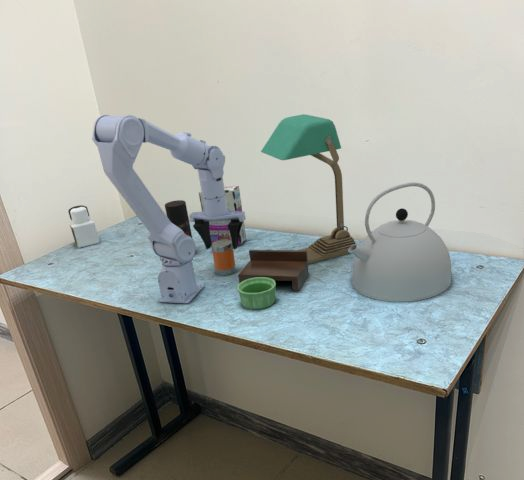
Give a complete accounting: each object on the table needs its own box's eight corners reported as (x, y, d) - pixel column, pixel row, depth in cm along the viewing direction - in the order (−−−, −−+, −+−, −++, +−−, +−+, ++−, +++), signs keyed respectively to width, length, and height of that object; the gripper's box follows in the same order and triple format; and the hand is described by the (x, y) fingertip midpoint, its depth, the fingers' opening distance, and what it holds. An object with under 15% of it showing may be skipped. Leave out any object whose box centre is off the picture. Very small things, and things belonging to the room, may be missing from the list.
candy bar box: (247, 239, 165) (239, 185, 156) (241, 245, 161) (234, 190, 152) (213, 239, 168) (204, 186, 160) (207, 245, 164) (197, 191, 156)
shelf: (298, 291, 129) (296, 266, 126) (240, 289, 134) (236, 265, 131) (308, 274, 137) (306, 250, 134) (253, 273, 142) (250, 249, 139)
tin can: (231, 276, 142) (227, 247, 138) (212, 275, 144) (207, 246, 140) (239, 267, 146) (234, 239, 142) (220, 267, 148) (215, 239, 144)
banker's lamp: (365, 255, 144) (362, 113, 126) (293, 274, 138) (280, 129, 120) (336, 238, 157) (330, 108, 139) (270, 255, 151) (255, 121, 133)
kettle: (376, 314, 116) (376, 210, 104) (326, 278, 134) (321, 186, 122) (472, 284, 122) (482, 183, 111) (412, 254, 141) (415, 165, 129)
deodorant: (196, 249, 163) (187, 199, 155) (192, 256, 158) (182, 205, 150) (177, 250, 164) (167, 201, 156) (173, 258, 158) (162, 207, 151)
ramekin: (240, 313, 123) (237, 295, 121) (239, 296, 131) (236, 279, 129) (279, 307, 123) (277, 290, 121) (275, 291, 131) (273, 274, 129)
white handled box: (75, 242, 182) (64, 207, 176) (96, 237, 184) (86, 202, 178) (78, 248, 176) (67, 212, 170) (100, 243, 178) (89, 207, 172)
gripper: (246, 190, 136) (253, 242, 143) (194, 191, 140) (203, 241, 147) (236, 199, 130) (244, 252, 137) (182, 200, 135) (192, 251, 142)
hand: (222, 247), depth 142 cm, fingers open, 7 cm apart
